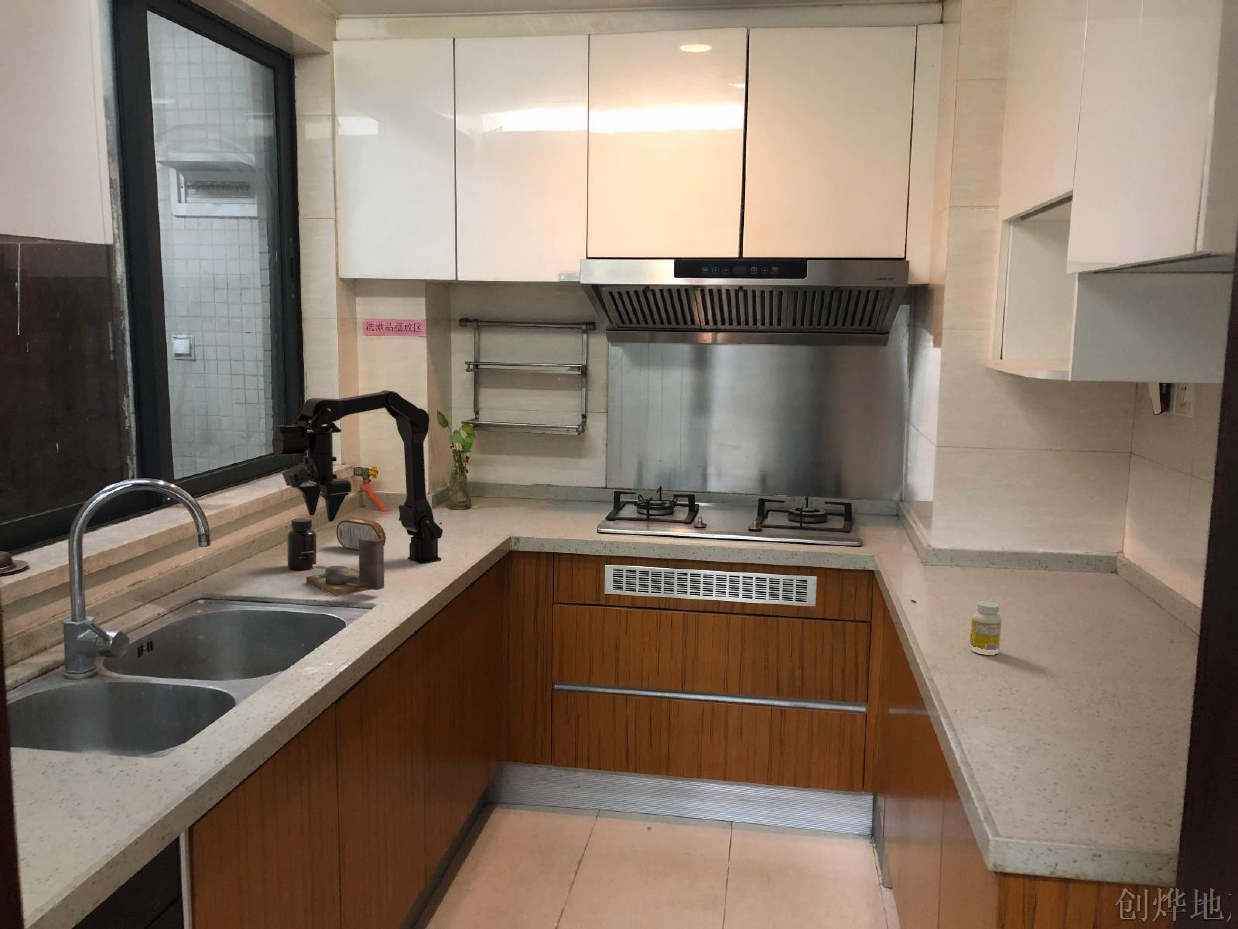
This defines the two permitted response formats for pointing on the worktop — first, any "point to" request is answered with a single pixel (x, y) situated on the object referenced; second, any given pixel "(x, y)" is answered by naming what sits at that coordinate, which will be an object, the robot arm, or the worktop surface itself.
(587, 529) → the worktop surface
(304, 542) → the supplement bottle
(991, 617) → the supplement bottle
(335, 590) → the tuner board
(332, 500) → the robot arm
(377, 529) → the tin
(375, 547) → the upright block on board
